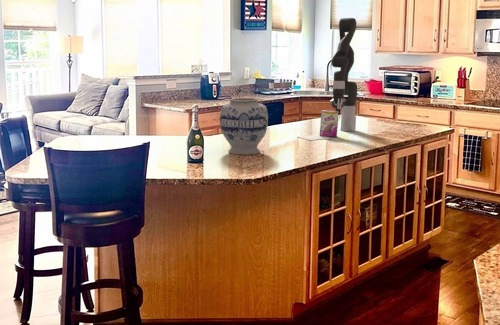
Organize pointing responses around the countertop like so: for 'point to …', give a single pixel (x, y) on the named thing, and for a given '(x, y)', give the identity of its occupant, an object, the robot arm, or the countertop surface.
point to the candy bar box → (329, 123)
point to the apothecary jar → (244, 125)
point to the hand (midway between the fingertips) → (337, 114)
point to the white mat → (313, 137)
